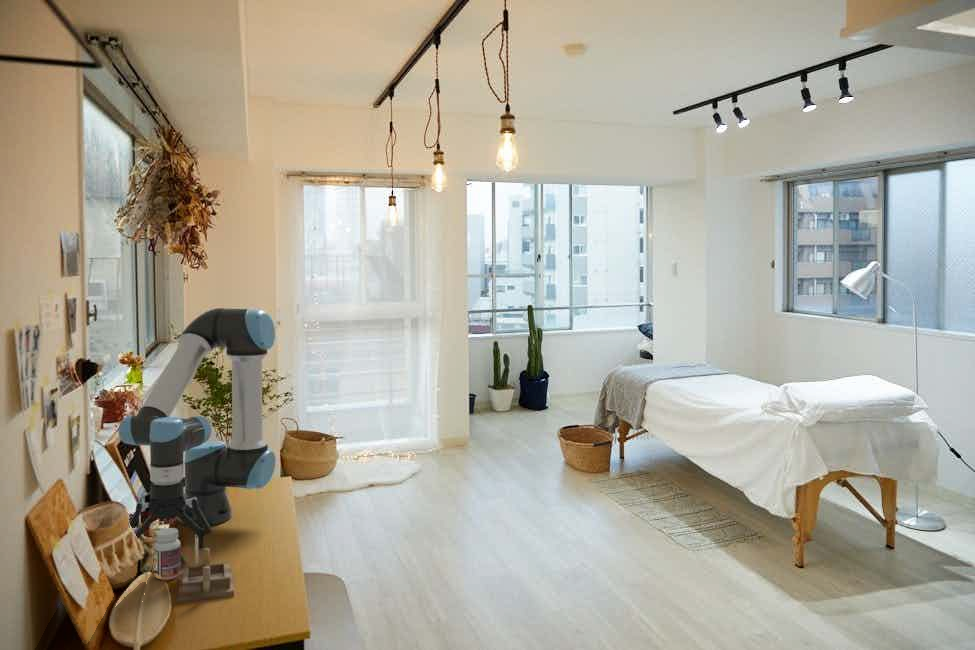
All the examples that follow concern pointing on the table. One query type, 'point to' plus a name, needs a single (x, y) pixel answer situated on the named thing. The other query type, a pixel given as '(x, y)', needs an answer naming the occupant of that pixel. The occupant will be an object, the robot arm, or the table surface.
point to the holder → (205, 581)
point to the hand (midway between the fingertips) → (167, 565)
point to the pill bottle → (168, 553)
